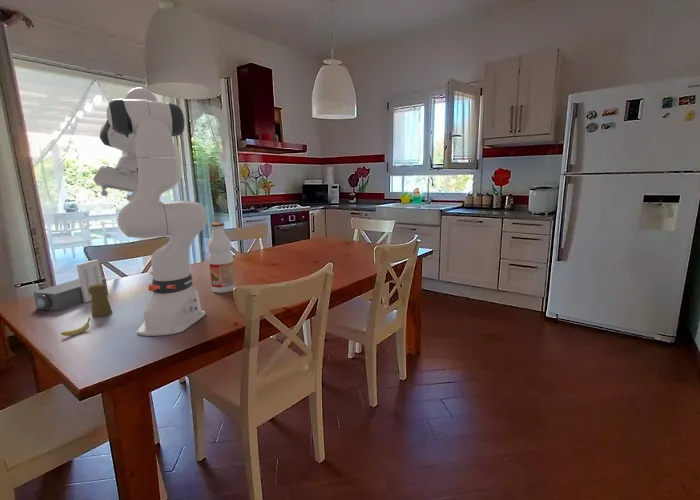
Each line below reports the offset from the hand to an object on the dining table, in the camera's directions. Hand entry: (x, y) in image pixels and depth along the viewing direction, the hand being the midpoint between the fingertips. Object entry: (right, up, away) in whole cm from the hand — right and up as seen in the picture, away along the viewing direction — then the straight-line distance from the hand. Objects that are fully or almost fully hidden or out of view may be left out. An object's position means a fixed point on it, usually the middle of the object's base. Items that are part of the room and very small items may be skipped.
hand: (116, 197), depth 148 cm
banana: (+10, -47, -34) cm, 59 cm away
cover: (-7, -40, -3) cm, 41 cm away
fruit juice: (+41, -38, +6) cm, 56 cm away
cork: (+7, -44, -18) cm, 48 cm away
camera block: (-14, -41, -4) cm, 43 cm away
